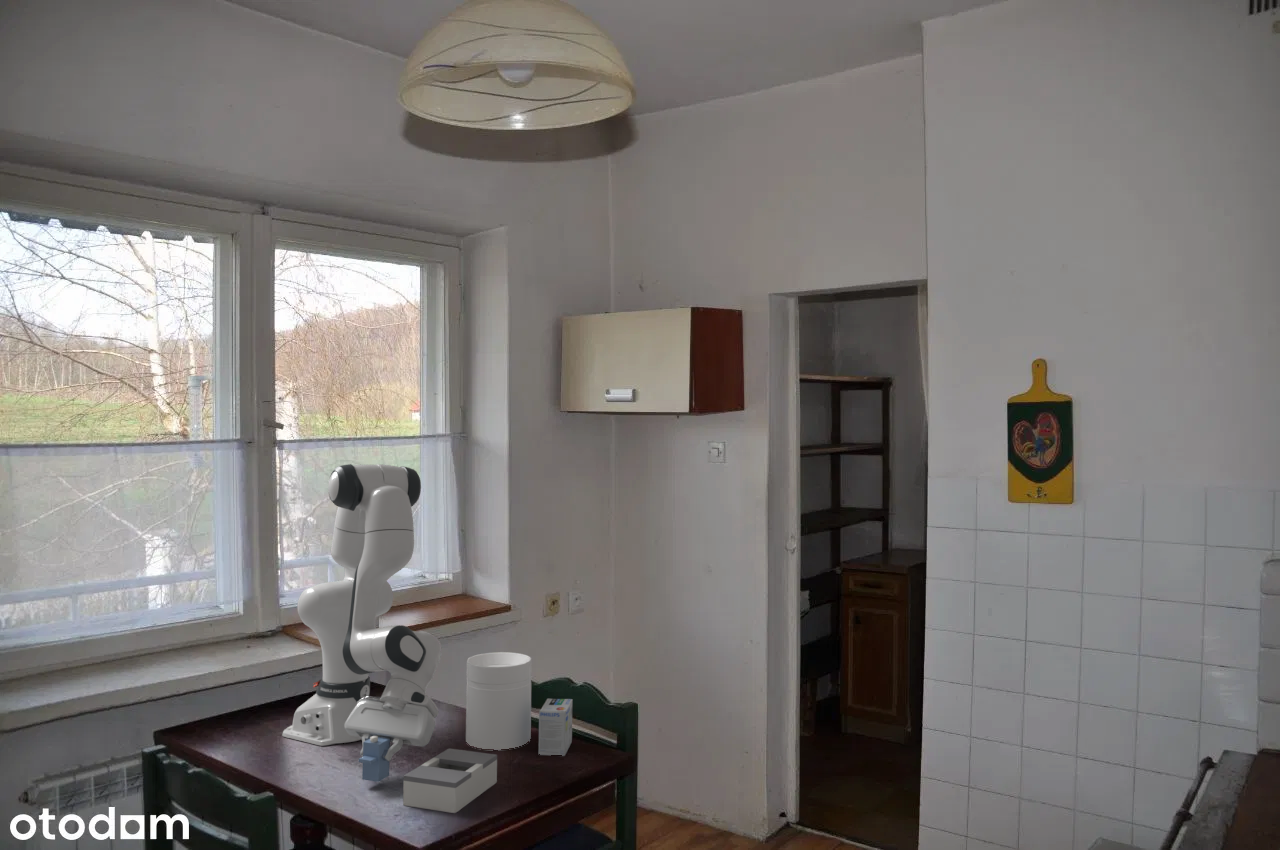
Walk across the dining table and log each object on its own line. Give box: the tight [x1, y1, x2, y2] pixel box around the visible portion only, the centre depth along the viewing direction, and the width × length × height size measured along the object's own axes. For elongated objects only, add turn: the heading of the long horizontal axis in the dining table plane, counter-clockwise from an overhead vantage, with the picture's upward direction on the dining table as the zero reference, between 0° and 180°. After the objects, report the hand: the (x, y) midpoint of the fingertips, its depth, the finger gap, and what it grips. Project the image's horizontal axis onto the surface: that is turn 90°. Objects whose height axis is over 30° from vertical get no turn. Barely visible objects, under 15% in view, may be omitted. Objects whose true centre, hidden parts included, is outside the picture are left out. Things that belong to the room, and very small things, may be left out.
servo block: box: [358, 736, 391, 783], centre depth 201 cm, size 4×8×9 cm, turn 162°
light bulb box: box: [538, 698, 573, 757], centre depth 227 cm, size 11×7×11 cm, turn 175°
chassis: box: [402, 748, 498, 814], centre depth 197 cm, size 12×18×6 cm, turn 161°
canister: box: [465, 651, 533, 751], centre depth 233 cm, size 16×16×20 cm
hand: (374, 757), depth 201 cm, fingers closed on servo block, 4 cm apart
